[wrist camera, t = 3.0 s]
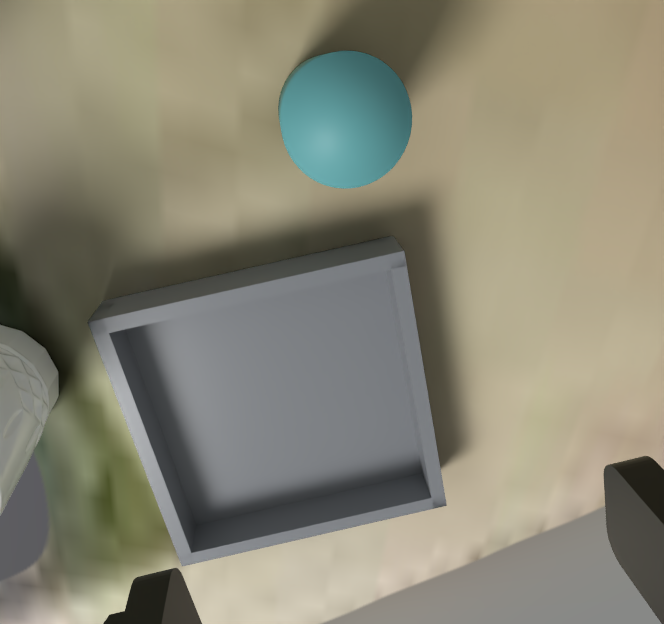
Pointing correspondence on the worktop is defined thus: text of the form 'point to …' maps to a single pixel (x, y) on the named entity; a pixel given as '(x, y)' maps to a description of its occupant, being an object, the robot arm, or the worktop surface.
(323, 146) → the teal capsule
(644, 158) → the worktop surface
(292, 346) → the tray
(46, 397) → the white cup
